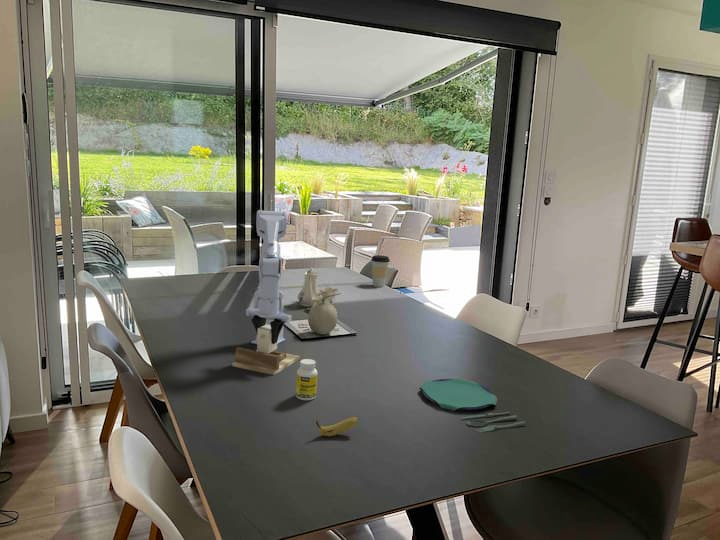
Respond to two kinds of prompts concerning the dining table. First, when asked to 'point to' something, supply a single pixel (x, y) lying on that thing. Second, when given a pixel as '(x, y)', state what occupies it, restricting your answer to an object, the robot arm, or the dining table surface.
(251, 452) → the dining table surface
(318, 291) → the chinaware
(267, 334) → the cabinet block
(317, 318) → the fruit
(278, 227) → the robot arm
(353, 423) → the banana
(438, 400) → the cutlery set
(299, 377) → the supplement bottle
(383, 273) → the coffee cup
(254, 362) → the board
